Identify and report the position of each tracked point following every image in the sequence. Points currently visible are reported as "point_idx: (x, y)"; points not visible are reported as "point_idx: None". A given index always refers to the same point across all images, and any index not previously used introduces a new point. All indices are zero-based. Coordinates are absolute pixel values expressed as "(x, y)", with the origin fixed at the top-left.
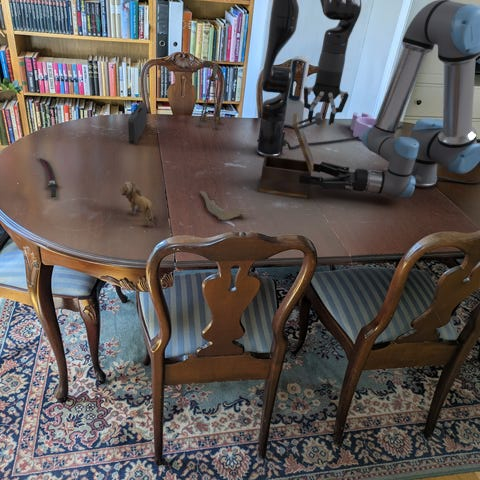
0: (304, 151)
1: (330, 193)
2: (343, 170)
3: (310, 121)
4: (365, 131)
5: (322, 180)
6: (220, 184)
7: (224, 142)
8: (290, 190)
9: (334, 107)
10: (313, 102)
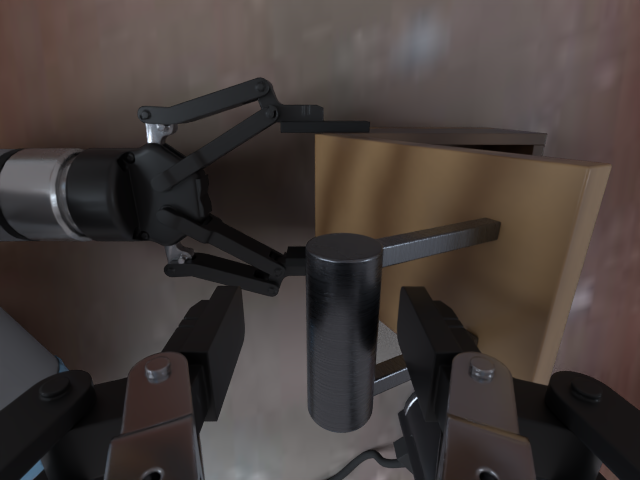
0: (389, 141)
1: (240, 189)
2: (183, 227)
3: (416, 286)
4: None
5: (269, 104)
6: (626, 141)
7: None
8: (385, 128)
9: (136, 420)
10: (523, 454)
